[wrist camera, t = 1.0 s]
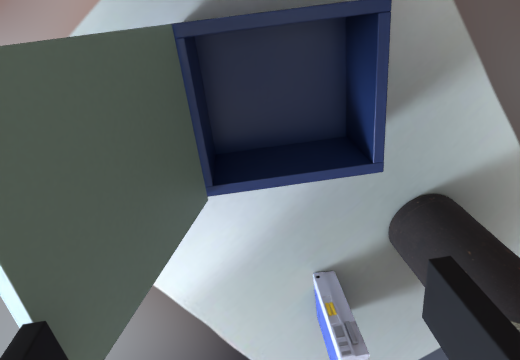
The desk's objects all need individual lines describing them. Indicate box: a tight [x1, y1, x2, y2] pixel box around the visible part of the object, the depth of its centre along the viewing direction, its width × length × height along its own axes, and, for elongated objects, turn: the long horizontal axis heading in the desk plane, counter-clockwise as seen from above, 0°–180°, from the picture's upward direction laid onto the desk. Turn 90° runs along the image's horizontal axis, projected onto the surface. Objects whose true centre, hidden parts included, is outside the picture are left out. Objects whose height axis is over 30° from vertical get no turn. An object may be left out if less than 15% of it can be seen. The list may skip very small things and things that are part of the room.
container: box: [389, 194, 520, 331], centre depth 31 cm, size 9×9×20 cm
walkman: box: [313, 271, 369, 360], centre depth 39 cm, size 8×3×12 cm, turn 8°
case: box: [172, 0, 392, 197], centre depth 29 cm, size 15×13×8 cm
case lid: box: [0, 24, 208, 360], centre depth 18 cm, size 16×13×1 cm
